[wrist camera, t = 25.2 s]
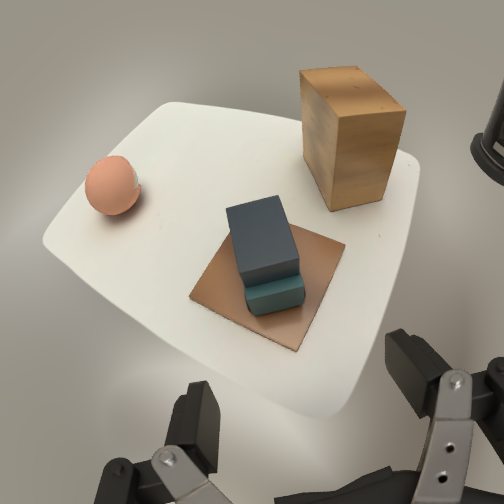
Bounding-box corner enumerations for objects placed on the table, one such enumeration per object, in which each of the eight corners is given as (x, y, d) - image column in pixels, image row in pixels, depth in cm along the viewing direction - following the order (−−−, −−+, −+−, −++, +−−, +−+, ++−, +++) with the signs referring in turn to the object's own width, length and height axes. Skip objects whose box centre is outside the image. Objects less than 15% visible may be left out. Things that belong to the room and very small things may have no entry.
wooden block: (302, 155, 37) (298, 70, 25) (349, 147, 36) (356, 65, 25) (329, 212, 31) (338, 116, 20) (382, 200, 31) (406, 110, 20)
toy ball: (159, 186, 38) (136, 145, 31) (130, 231, 34) (99, 193, 28) (122, 180, 40) (98, 144, 33) (94, 220, 37) (64, 186, 30)
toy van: (307, 305, 26) (311, 268, 19) (251, 320, 26) (233, 288, 19) (283, 228, 31) (278, 176, 24) (234, 240, 31) (216, 191, 24)
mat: (246, 210, 33) (245, 207, 33) (344, 247, 29) (345, 244, 29) (190, 298, 29) (188, 296, 28) (296, 352, 25) (296, 351, 24)
